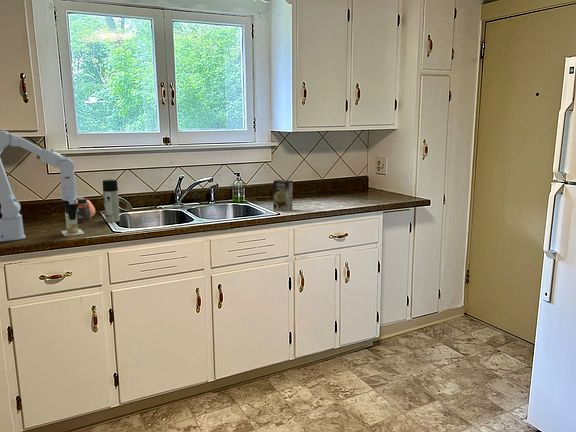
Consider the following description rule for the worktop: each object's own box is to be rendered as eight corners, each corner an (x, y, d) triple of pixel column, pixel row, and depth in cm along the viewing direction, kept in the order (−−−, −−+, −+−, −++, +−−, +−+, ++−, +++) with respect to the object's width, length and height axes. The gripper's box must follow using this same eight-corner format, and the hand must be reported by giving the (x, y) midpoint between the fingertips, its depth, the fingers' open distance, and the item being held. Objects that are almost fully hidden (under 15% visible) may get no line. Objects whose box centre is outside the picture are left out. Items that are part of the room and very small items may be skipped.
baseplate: (64, 236, 201) (63, 235, 201) (61, 232, 210) (61, 230, 210) (84, 234, 205) (84, 233, 205) (81, 230, 214) (80, 228, 214)
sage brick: (67, 224, 204) (66, 215, 203) (66, 222, 207) (65, 213, 207) (77, 223, 206) (76, 214, 205) (76, 221, 209) (75, 212, 209)
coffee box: (272, 210, 258) (272, 180, 255) (277, 208, 264) (277, 179, 261) (288, 211, 255) (288, 181, 252) (292, 209, 261) (292, 180, 258)
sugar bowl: (96, 219, 237) (94, 198, 235) (65, 221, 232) (63, 200, 230) (95, 214, 248) (94, 195, 246) (66, 216, 243) (64, 196, 241)
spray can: (105, 220, 234) (101, 179, 230) (119, 219, 236) (116, 179, 232) (105, 223, 228) (102, 181, 224) (120, 222, 230) (117, 180, 226)
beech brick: (68, 233, 205) (67, 224, 204) (67, 231, 208) (66, 222, 207) (78, 232, 207) (77, 223, 206) (77, 230, 210) (76, 221, 209)
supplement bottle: (92, 220, 234) (90, 197, 232) (88, 223, 228) (86, 199, 226) (80, 220, 234) (78, 197, 232) (75, 223, 228) (73, 199, 226)
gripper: (81, 188, 199) (83, 220, 202) (76, 184, 212) (78, 214, 214) (62, 189, 196) (65, 222, 199) (58, 185, 208) (61, 216, 211)
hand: (71, 218), depth 206 cm, fingers open, 7 cm apart
